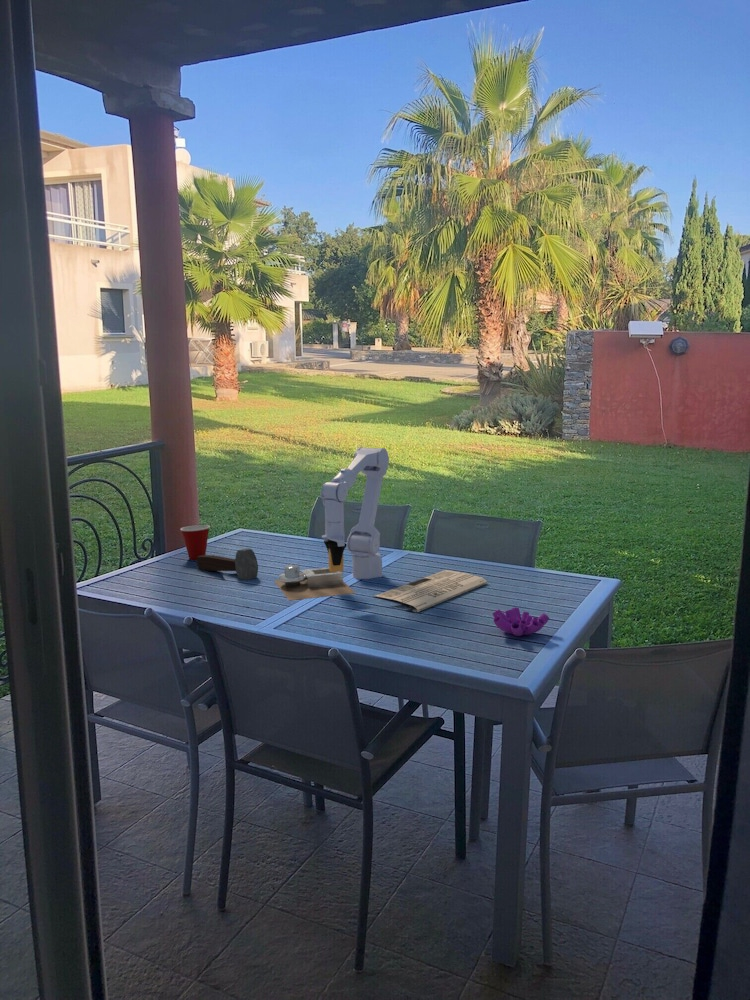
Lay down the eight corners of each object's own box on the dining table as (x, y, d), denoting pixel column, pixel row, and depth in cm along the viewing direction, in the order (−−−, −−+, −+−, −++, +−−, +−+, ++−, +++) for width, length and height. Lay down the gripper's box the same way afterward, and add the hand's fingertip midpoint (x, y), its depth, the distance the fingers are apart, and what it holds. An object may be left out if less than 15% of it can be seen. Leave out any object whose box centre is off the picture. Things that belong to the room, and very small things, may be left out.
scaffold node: (335, 576, 259) (335, 559, 258) (343, 583, 251) (342, 565, 250) (276, 582, 253) (275, 564, 252) (282, 590, 245) (281, 571, 244)
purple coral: (539, 654, 205) (529, 632, 199) (490, 641, 214) (478, 619, 208) (556, 620, 210) (547, 597, 204) (507, 608, 220) (497, 587, 214)
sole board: (336, 578, 263) (336, 574, 262) (356, 597, 242) (356, 593, 242) (274, 585, 256) (274, 580, 256) (289, 605, 236) (288, 600, 235)
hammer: (196, 579, 277) (248, 584, 256) (192, 547, 276) (243, 550, 255) (208, 576, 280) (259, 581, 259) (204, 545, 279) (255, 548, 258)
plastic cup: (202, 552, 298) (200, 521, 296) (217, 558, 290) (215, 526, 288) (176, 558, 291) (174, 526, 289) (191, 563, 283) (189, 531, 281)
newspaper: (442, 576, 266) (442, 568, 266) (491, 586, 254) (491, 578, 253) (371, 602, 239) (371, 593, 238) (422, 616, 226) (422, 606, 226)
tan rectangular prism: (341, 569, 246) (340, 547, 244) (343, 571, 243) (343, 549, 242) (328, 570, 244) (328, 548, 243) (330, 572, 242) (330, 550, 241)
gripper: (315, 517, 246) (316, 559, 249) (328, 526, 233) (329, 571, 235) (337, 515, 249) (338, 557, 251) (350, 525, 235) (351, 568, 238)
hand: (335, 563), depth 243 cm, fingers closed on tan rectangular prism, 2 cm apart
